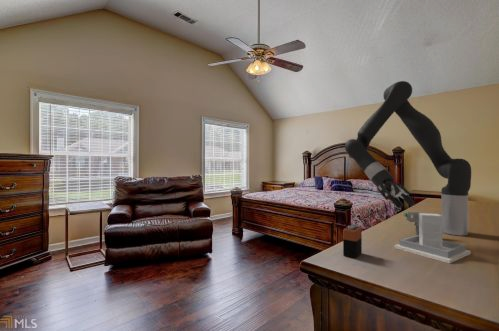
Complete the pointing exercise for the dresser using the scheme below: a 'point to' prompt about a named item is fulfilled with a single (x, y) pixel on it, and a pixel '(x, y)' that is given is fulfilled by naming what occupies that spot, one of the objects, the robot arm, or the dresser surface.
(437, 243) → the skincare box
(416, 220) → the mechanical component
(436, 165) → the robot arm
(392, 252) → the dresser surface
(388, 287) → the dresser surface
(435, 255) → the grey rimmed tray
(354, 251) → the battery
